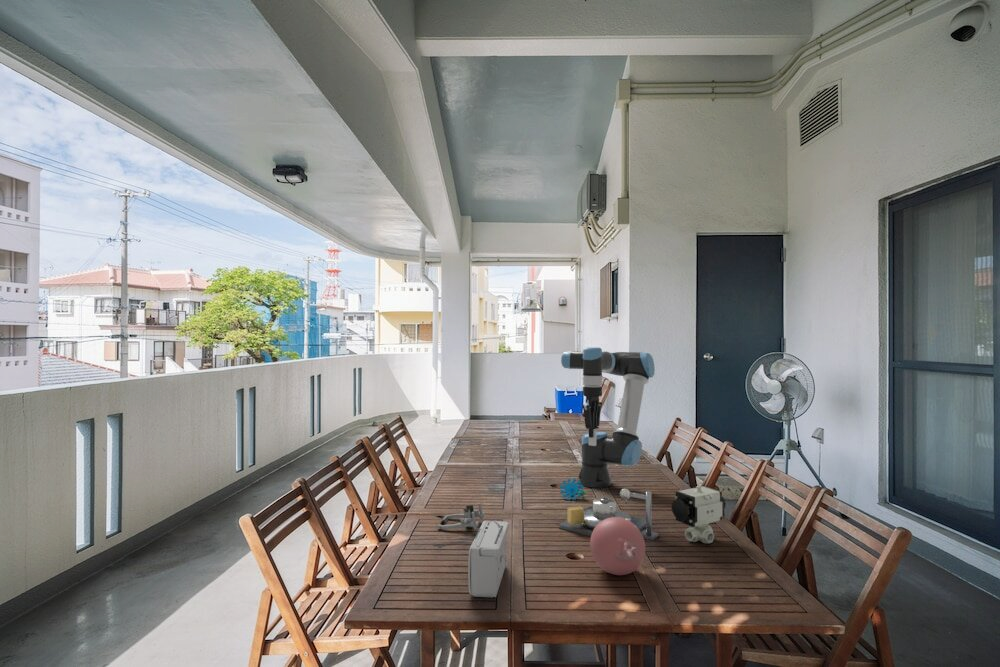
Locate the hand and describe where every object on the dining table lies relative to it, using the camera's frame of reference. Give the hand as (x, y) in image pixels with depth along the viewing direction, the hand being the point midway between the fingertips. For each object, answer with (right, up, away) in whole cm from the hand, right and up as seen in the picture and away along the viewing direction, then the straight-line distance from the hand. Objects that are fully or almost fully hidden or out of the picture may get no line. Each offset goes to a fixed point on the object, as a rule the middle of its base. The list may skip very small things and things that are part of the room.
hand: (592, 445), depth 202 cm
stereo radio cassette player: (-40, -24, -62) cm, 77 cm away
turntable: (-2, -23, -22) cm, 31 cm away
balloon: (-3, -24, -59) cm, 64 cm away
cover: (+1, -21, -21) cm, 29 cm away
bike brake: (-53, -25, -20) cm, 62 cm away
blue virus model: (-6, -25, +10) cm, 28 cm away
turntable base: (+1, -24, -21) cm, 32 cm away
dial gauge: (+11, -24, -28) cm, 39 cm away
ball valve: (+30, -24, -34) cm, 51 cm away
